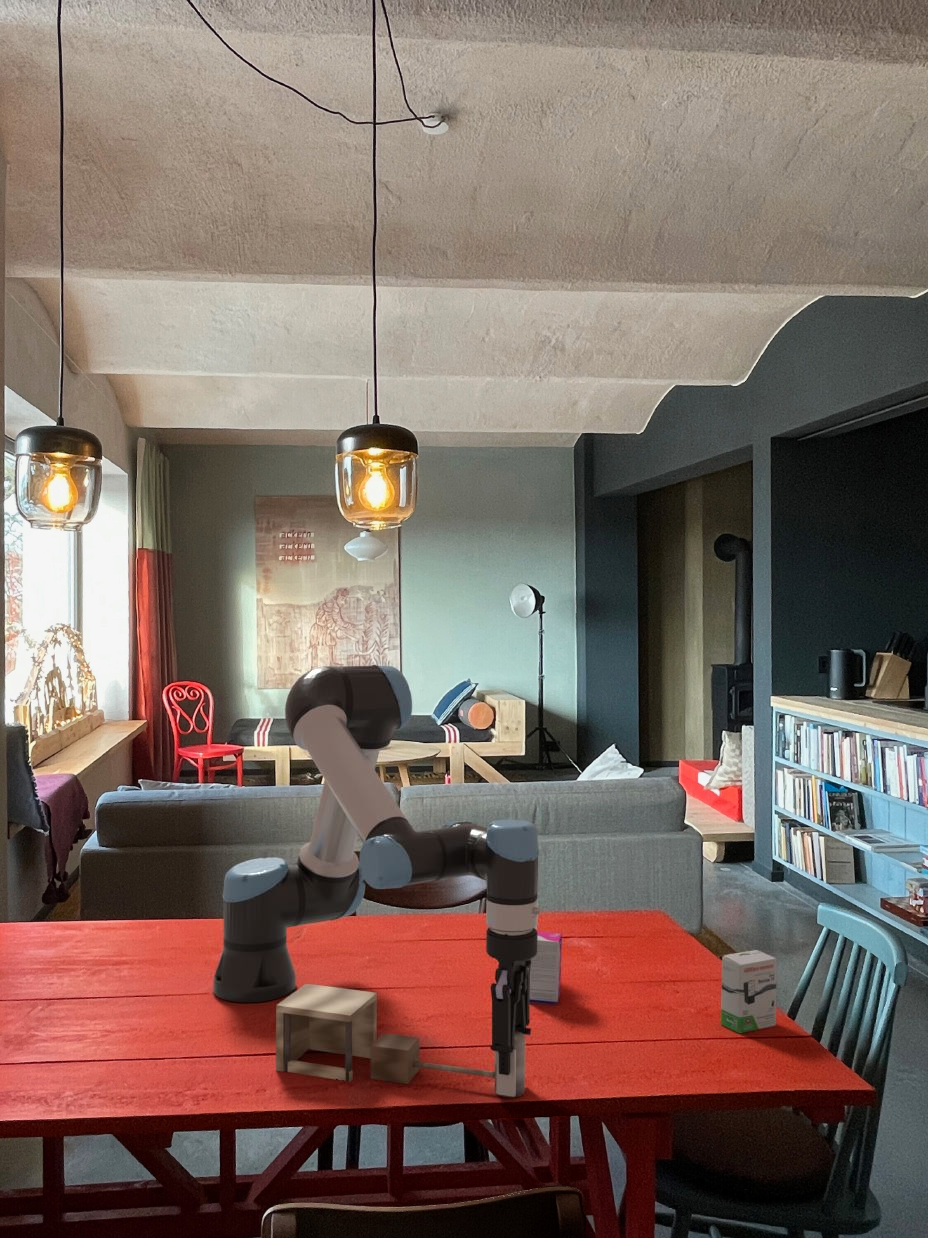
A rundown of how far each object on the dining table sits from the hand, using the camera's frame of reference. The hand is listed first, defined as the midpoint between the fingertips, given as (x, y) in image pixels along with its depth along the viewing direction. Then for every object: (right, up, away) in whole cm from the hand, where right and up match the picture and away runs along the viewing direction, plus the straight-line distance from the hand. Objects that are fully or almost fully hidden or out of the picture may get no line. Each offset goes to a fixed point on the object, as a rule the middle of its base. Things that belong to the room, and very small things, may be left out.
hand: (510, 1086), depth 152 cm
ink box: (+42, -1, +26) cm, 49 cm away
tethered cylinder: (-9, -1, +3) cm, 10 cm away
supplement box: (+8, -1, +38) cm, 39 cm away
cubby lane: (-28, -1, +10) cm, 30 cm away
